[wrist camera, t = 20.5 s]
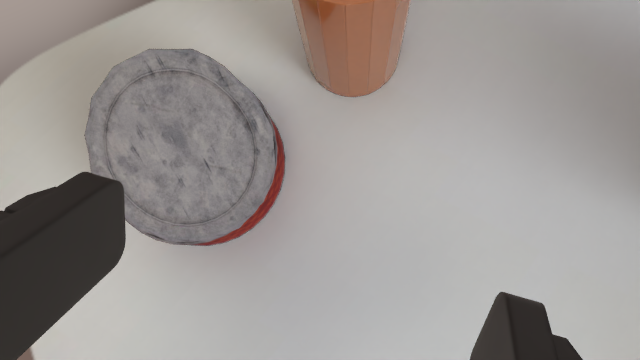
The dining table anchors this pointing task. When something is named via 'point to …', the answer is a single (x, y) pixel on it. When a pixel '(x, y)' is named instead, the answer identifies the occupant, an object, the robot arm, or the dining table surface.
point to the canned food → (185, 147)
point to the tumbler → (352, 41)
